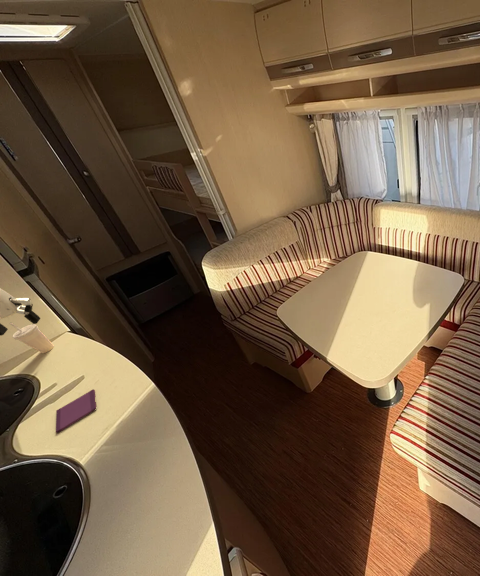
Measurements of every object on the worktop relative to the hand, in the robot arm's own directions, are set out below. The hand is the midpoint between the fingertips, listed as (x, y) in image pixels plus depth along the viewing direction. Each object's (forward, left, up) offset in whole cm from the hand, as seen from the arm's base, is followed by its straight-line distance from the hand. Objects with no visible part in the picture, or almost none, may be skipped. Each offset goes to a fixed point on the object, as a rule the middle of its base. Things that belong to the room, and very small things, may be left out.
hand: (21, 326), depth 104 cm
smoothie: (0, 0, -11) cm, 11 cm away
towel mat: (+8, -44, -11) cm, 46 cm away
